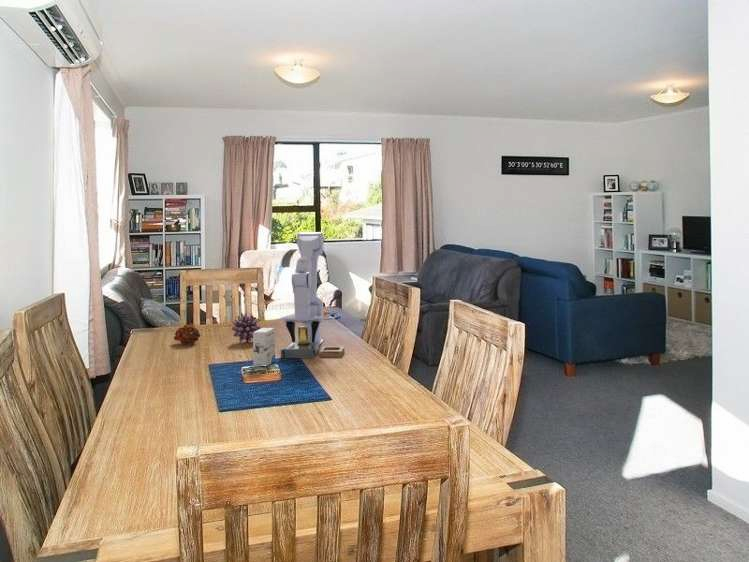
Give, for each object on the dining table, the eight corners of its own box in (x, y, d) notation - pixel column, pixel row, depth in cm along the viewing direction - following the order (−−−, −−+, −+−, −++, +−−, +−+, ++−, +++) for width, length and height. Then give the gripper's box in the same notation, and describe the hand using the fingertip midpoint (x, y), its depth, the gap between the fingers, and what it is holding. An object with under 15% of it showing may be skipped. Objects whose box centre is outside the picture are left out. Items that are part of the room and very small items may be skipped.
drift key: (282, 355, 224) (282, 347, 224) (307, 355, 223) (307, 347, 223) (280, 357, 221) (280, 349, 221) (306, 357, 220) (305, 349, 220)
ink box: (262, 360, 216) (261, 327, 215) (276, 361, 215) (275, 327, 214) (253, 366, 208) (251, 332, 207) (267, 367, 207) (266, 332, 206)
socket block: (292, 350, 233) (292, 342, 233) (319, 349, 232) (318, 342, 232) (285, 357, 220) (284, 349, 220) (313, 357, 219) (312, 349, 219)
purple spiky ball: (247, 338, 259) (246, 310, 258) (267, 341, 252) (266, 312, 251) (225, 343, 249) (224, 313, 248) (246, 346, 242) (245, 316, 241)
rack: (322, 352, 228) (322, 346, 228) (344, 352, 228) (344, 346, 227) (319, 357, 220) (319, 351, 220) (341, 356, 220) (341, 351, 219)
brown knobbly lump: (198, 349, 247) (177, 351, 253) (209, 333, 252) (188, 336, 258) (185, 334, 242) (165, 336, 248) (197, 319, 248) (176, 321, 254)
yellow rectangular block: (300, 351, 231) (299, 326, 230) (309, 351, 230) (308, 325, 229) (298, 353, 227) (297, 327, 226) (307, 353, 227) (307, 327, 226)
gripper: (280, 306, 224) (281, 344, 225) (320, 306, 222) (321, 343, 224) (284, 304, 231) (285, 340, 232) (323, 303, 229) (324, 340, 231)
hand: (303, 341), depth 228 cm, fingers open, 7 cm apart
